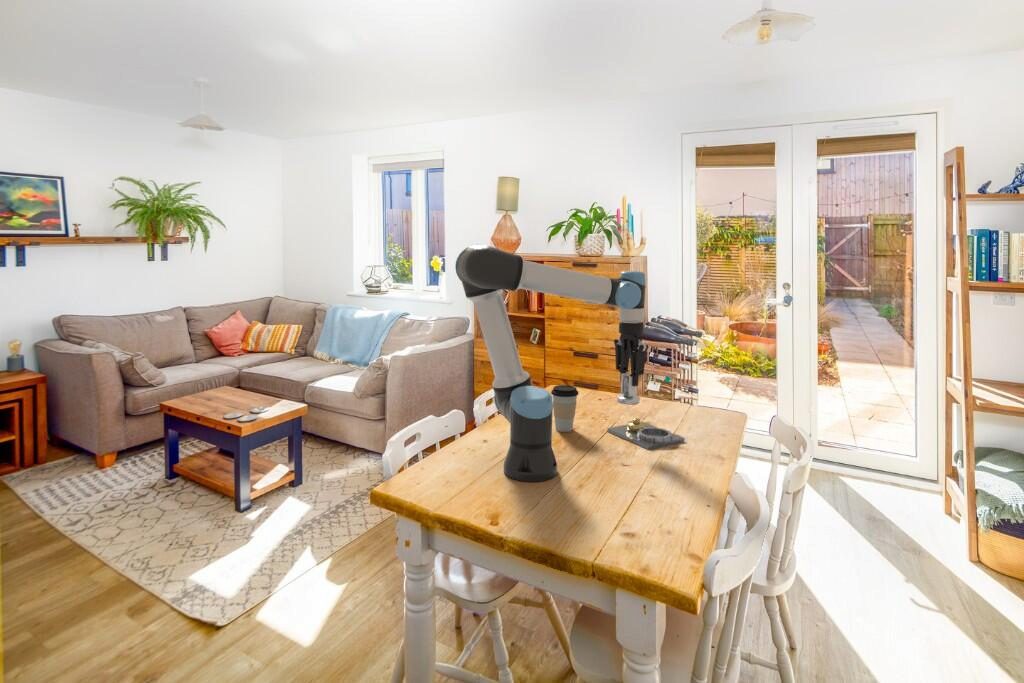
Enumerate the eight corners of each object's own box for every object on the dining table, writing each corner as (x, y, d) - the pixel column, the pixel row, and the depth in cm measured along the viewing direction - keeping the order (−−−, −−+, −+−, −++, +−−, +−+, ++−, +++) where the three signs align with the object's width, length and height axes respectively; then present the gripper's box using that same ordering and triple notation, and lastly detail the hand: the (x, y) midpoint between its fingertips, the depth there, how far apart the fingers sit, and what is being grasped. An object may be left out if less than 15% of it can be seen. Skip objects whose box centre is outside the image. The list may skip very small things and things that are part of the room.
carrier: (648, 449, 179) (649, 435, 178) (607, 431, 196) (607, 418, 195) (684, 441, 187) (685, 427, 186) (642, 424, 204) (642, 411, 203)
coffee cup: (577, 425, 202) (578, 384, 199) (577, 434, 192) (578, 391, 190) (550, 424, 203) (551, 384, 200) (549, 433, 193) (550, 390, 191)
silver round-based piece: (626, 405, 176) (627, 380, 175) (612, 400, 182) (613, 376, 181) (644, 402, 179) (645, 378, 178) (629, 397, 185) (630, 373, 184)
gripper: (658, 323, 171) (655, 398, 175) (623, 317, 185) (620, 387, 189) (640, 325, 168) (637, 401, 172) (605, 319, 181) (603, 390, 185)
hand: (628, 394), depth 180 cm, fingers closed on silver round-based piece, 3 cm apart
